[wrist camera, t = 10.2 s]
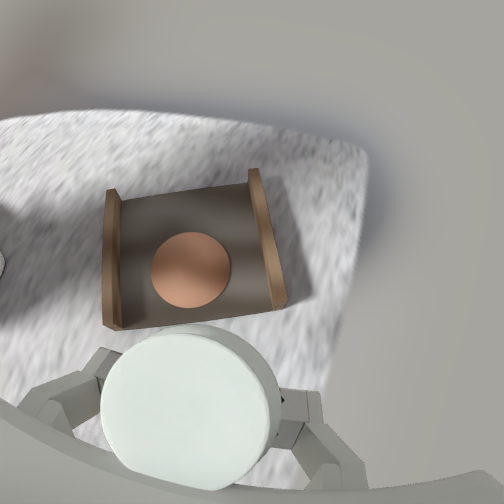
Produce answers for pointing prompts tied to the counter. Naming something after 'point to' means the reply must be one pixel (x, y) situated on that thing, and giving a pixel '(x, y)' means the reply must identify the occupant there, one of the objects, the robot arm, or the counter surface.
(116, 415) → the supplement bottle
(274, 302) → the walled bay
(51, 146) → the counter surface
